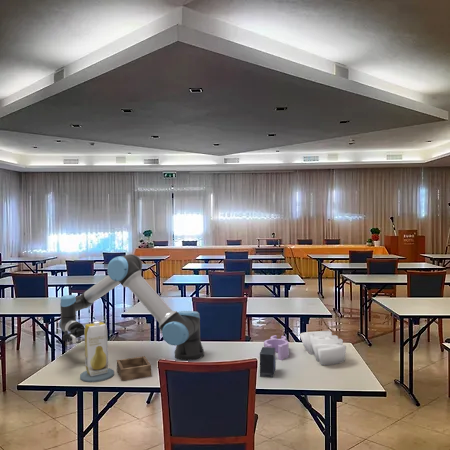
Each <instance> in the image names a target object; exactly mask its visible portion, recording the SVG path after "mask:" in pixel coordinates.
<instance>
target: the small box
mask: <svg viewBox="0 0 450 450" xmlns="http://www.w3.org/2000/svg"><path fill="white" fill-rule="evenodd" d="M276 356H277V355H276V352H275V348H269V347H264V346H262V348H261V350H260V352H259V377H261V378H274V377H275V372H276V367H277V366H276V365H277V364H276V363H277V361H276V359H277V358H276Z"/></svg>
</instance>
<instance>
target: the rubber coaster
mask: <svg viewBox="0 0 450 450" xmlns="http://www.w3.org/2000/svg"><path fill="white" fill-rule="evenodd" d="M114 375H115V370H114V369H113V368H109V367H108V371H107V373H106V374H101V375H97V376H92V377H91V376H90V375H89V374H88V373H87V370H85V371H83V372H81V373H80V375H79V379H80V380H81V381H83V382H86V383H98V382H103V381H107V380H110V379H111V378H113V377H114Z"/></svg>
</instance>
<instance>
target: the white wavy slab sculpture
mask: <svg viewBox="0 0 450 450" xmlns="http://www.w3.org/2000/svg"><path fill="white" fill-rule="evenodd" d="M299 337H300V339H301V341H302V344H303V347H304V349H305V351H306V352H307V353H308V354H309V355H310V356H311V355H313V356H314V357H315V360H316V362H319V364H320V366H331V365H333V366H334V365H337V364H342V363H344V362H345V361H346V354H347V353H346V350H347V346H346V345H345V344H343V341H344V340H343V339H342V338H339V336H338V335H335V334H333V332H332V331H331V330H320V331H306V332H305V331H304V332H301V333H300V334H299Z"/></svg>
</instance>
